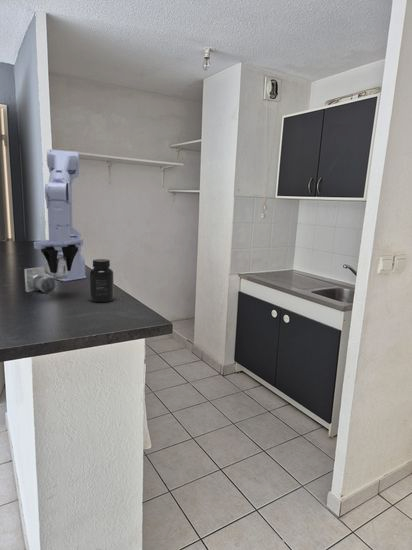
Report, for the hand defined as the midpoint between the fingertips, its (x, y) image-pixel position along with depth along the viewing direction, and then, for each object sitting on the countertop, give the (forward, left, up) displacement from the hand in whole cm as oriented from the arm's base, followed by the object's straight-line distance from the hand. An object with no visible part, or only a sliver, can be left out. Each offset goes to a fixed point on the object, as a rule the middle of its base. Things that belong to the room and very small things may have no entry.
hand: (60, 271), depth 110 cm
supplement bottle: (-7, +10, -8) cm, 15 cm away
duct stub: (0, -10, -8) cm, 13 cm away
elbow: (0, -2, -2) cm, 3 cm away
